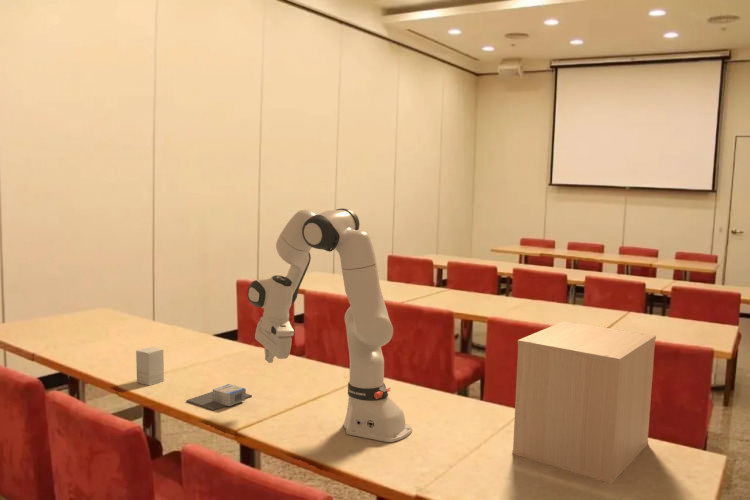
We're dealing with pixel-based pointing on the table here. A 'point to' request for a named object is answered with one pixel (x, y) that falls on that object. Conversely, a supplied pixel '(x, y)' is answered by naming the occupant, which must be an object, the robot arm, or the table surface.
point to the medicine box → (229, 395)
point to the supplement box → (150, 366)
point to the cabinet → (583, 398)
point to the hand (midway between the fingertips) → (268, 361)
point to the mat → (208, 401)
